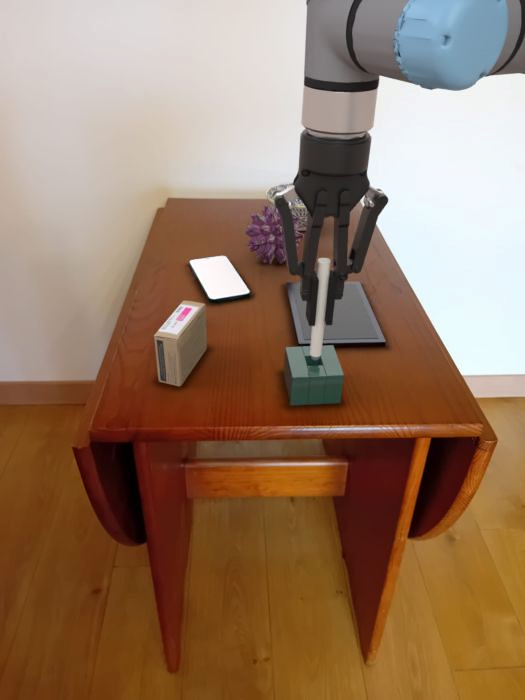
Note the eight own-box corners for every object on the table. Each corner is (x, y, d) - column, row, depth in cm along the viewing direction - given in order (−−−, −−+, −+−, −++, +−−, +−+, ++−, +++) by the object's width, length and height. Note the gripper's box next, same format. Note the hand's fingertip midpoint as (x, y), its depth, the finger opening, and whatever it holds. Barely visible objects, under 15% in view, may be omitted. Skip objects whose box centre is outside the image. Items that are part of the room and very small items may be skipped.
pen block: (340, 403, 75) (344, 375, 72) (290, 405, 74) (292, 377, 71) (330, 372, 80) (333, 344, 78) (283, 374, 80) (285, 346, 77)
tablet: (385, 346, 86) (386, 341, 85) (298, 348, 85) (298, 343, 85) (358, 286, 102) (359, 281, 102) (285, 286, 101) (285, 281, 101)
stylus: (323, 360, 74) (333, 260, 65) (315, 364, 73) (324, 264, 64) (315, 355, 75) (324, 256, 66) (306, 359, 74) (314, 259, 65)
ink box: (186, 344, 85) (183, 298, 81) (209, 349, 85) (207, 302, 80) (156, 382, 78) (151, 334, 73) (181, 388, 77) (177, 339, 72)
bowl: (256, 233, 121) (256, 200, 117) (275, 208, 134) (276, 178, 129) (325, 243, 118) (329, 210, 113) (339, 217, 130) (342, 186, 126)
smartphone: (251, 297, 98) (225, 258, 110) (252, 293, 97) (225, 254, 109) (209, 304, 96) (187, 264, 108) (209, 300, 95) (187, 260, 107)
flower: (243, 257, 114) (295, 240, 116) (261, 282, 105) (317, 262, 107) (231, 206, 107) (286, 189, 109) (249, 227, 98) (309, 208, 100)
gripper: (393, 121, 60) (366, 303, 74) (263, 122, 59) (260, 307, 73) (415, 138, 54) (381, 333, 68) (271, 139, 53) (266, 338, 67)
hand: (318, 319), depth 70 cm, fingers closed on stylus, 1 cm apart
